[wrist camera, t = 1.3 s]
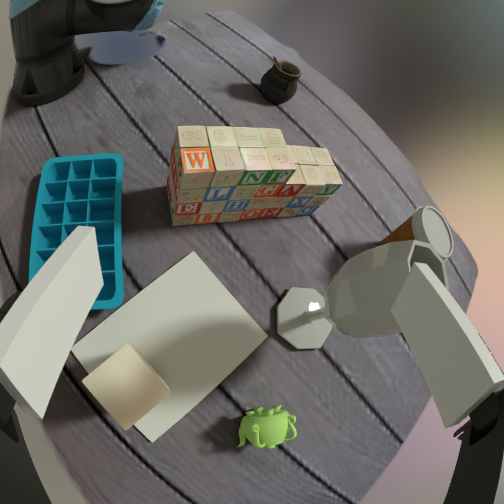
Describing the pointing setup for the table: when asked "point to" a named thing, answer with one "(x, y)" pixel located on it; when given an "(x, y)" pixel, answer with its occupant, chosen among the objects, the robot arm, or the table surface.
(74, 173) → the ice cube tray
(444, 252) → the disposable coffee cup
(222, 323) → the rubber mat
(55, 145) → the table surface
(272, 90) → the mate gourd
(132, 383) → the birch block
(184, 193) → the stack of blocks
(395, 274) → the wineglass
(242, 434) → the green monster figurine
